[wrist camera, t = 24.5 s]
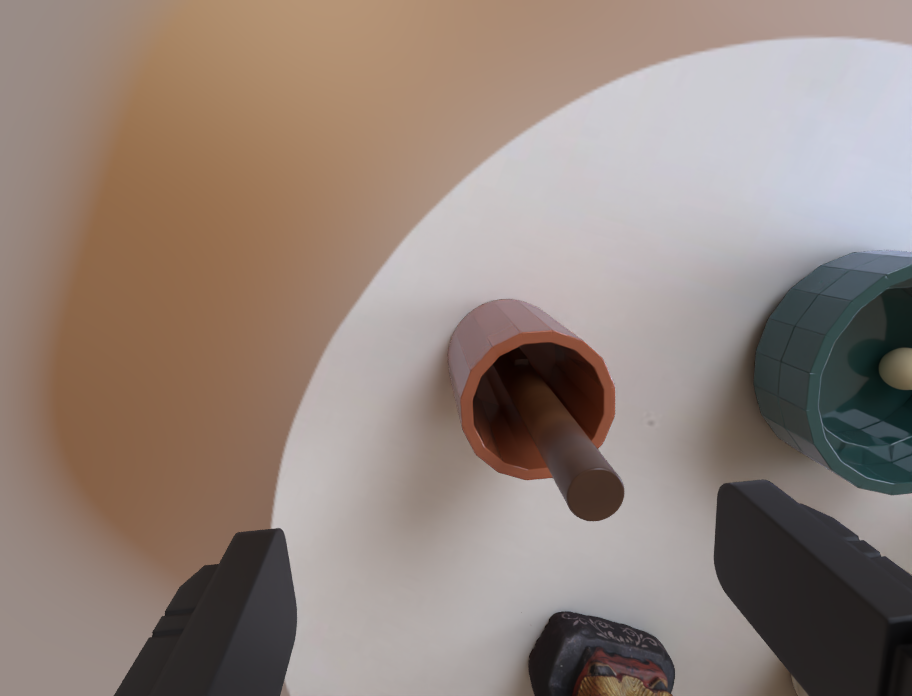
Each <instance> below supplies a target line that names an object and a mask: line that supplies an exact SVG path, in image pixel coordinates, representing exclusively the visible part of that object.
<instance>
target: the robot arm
mask: <svg viewBox="0 0 912 696" xmlns="http://www.w3.org/2000/svg"><path fill="white" fill-rule="evenodd" d="M714 564H715V570H716V574H717V577H718V580H719V582H720V584H721V586H722V588H723V590H724V592H725V593H726V594H727V596H728V597H729V598H730V599H731V601H732V602H733V603H734V604H735V605H736V607H737V608H738V609H739V610H740V612H741V613H742V614H743V615H744V617H745V618H746V619H747V620H748V622H749V623H750V624H751V625H752V626H753V628H754V629H755V630H756V631H757V633H758V634H759V635H760V636H761V638H762V639H763V640H764V641H765V642H766V644H767V645H768V646H769V647H770V649H771V650H772V651H773V652H774V654H775V655H776V656H777V657H778V658H779V660H780V661H781V662H782V663H783V665H784V666H785V667H786V668H787V670H788V671H789V672H790V673H791V674H792V676H793V677H794V678H795V679H796V681H797V682H798V683H799V684H800V686H801V687H802V688H803V689H804V690H805V692H806V693H807V694H808V695H809V696H912V576H911V575H910V574H909V573H907V572H906V571H905V570H903V569H902V568H900V567H899V566H898V565H896V564H895V563H894V562H892V561H891V560H890V559H888V558H887V557H886V556H883V557H881V555H880V552H879V551H877V550H876V549H875V548H873V547H872V546H871V545H869V544H868V543H867V542H865V541H864V540H861V541H860V540H859V538H858V536H857V535H856V534H854V533H853V532H852V531H850V530H849V529H848V528H846V527H845V526H844V525H842V524H841V523H840V522H838V521H837V520H835V519H834V518H832V517H830V516H828V515H826V514H823V513H821V512H819V511H817V510H815V509H812V508H810V507H808V506H806V505H803V504H799V503H797V502H796V501H795V500H794V499H792V498H791V497H790V496H788V495H787V494H786V493H784V492H783V491H782V490H781V489H779V488H778V487H777V486H775V485H774V484H773V483H771V482H770V481H768V480H753V481H744V482H734V483H725V484H723V485H722V486H721V487H720V489H719V491H718V496H717V511H716V528H715V546H714ZM296 627H297V607H296V598H295V592H294V586H293V580H292V574H291V568H290V562H289V556H288V550H287V544H286V539H285V535H284V532H283V530H282V529H281V528H276V529H268V530H257V531H247V532H238V533H236V534H235V536H234V537H233V539H232V541H231V543H230V545H229V546H228V548H227V550H226V552H225V554H224V556H223V557H222V559H221V561H220V563H219V564H215V565H205V566H203V567H202V568H201V569H200V570H199V571H198V572H197V573H195V574H194V575H193V576H192V577H191V578H190V579H189V580H187V581H186V582H185V583H184V584H183V585H182V586H181V587H180V588H179V589H178V591H177V593H176V594H175V596H174V598H173V599H172V601H171V602H170V604H169V606H168V607H167V609H166V611H165V616H162V617H161V619H160V621H159V622H158V624H157V625H156V627H155V629H154V630H153V632H152V633H153V635H152V637H150V638H149V639H148V640H147V642H146V644H145V645H144V647H143V648H142V650H141V652H140V653H139V655H138V657H137V658H136V660H135V662H134V663H133V665H132V667H131V668H130V670H129V672H128V673H127V675H126V676H125V678H124V680H123V681H122V683H121V685H120V686H119V688H118V690H117V691H116V693H115V695H114V696H280V694H281V690H282V686H283V683H284V679H285V675H286V671H287V668H288V664H289V660H290V656H291V653H292V649H293V645H294V641H295V636H296Z"/></svg>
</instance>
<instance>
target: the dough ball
mask: <svg viewBox="0 0 912 696" xmlns="http://www.w3.org/2000/svg"><path fill="white" fill-rule="evenodd" d="M879 374H880V376H881V378H882V379H883V380H884V382H886V383H887V384H888V385H890V386H891V387H894V388H896V389H901V390H912V348H898V349H894V350H892V351H890V352H888V353H887V354H885V355H884V356H883V358H882V359H881V361H880V363H879Z"/></svg>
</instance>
